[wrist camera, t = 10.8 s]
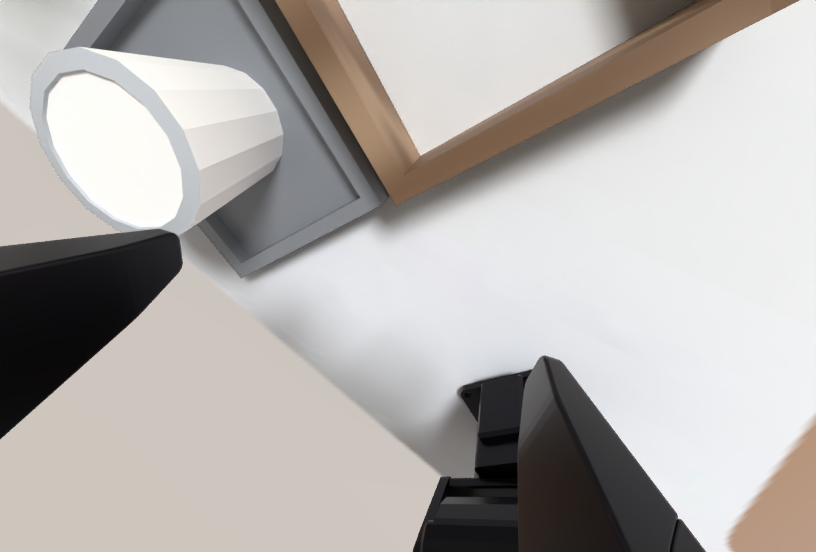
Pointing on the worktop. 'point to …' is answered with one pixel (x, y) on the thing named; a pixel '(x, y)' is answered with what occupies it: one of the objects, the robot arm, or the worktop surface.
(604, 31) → the worktop surface
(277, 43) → the charcoal tray
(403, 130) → the walnut bin
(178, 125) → the white tapered cup
